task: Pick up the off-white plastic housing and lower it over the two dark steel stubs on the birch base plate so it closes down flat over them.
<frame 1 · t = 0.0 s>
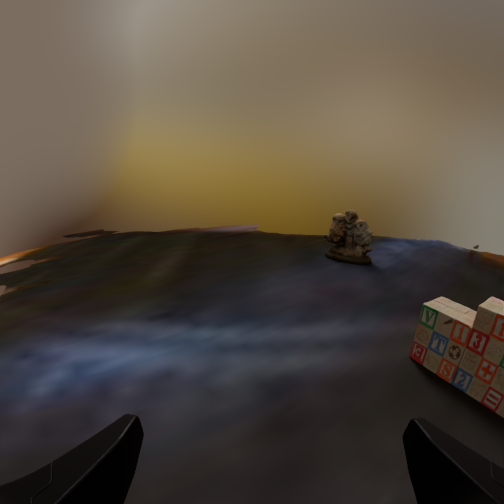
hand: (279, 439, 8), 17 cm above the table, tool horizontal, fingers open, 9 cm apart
stack of blocks: (466, 382, 30), on the table
owl figurine: (346, 259, 97), on the table
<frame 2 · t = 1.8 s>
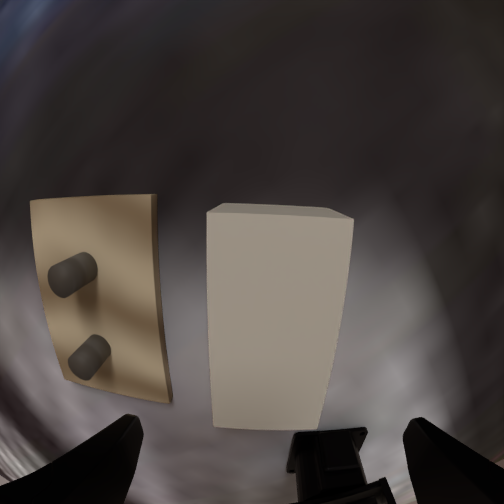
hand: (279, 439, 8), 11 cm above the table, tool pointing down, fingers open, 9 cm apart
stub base: (98, 303, 18), on the table
housing: (270, 303, 18), on the table
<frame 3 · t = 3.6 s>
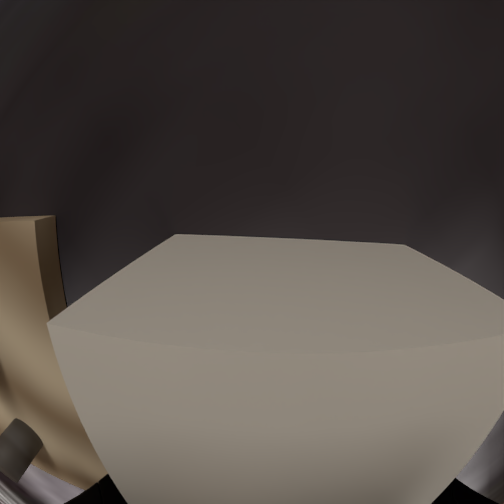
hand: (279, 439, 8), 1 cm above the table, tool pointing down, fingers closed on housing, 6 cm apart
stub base: (15, 378, 9), on the table
housing: (278, 417, 9), on the table, touching gripper
when the fingers open (3 cm above the table, at t = 8.9 s): housing stays where it is, resting on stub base.
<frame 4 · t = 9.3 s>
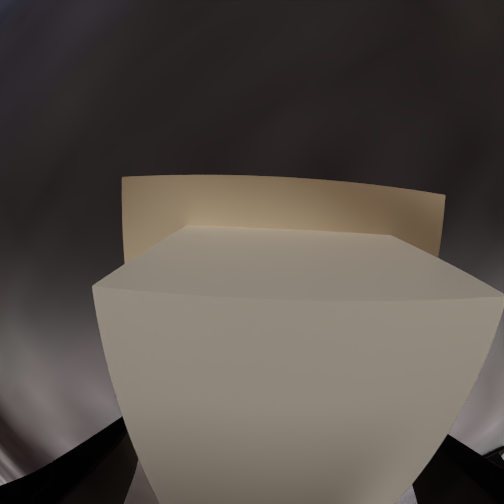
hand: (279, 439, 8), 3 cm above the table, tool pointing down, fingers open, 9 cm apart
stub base: (275, 382, 10), on the table
housing: (278, 397, 9), point 1 cm above the table, touching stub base
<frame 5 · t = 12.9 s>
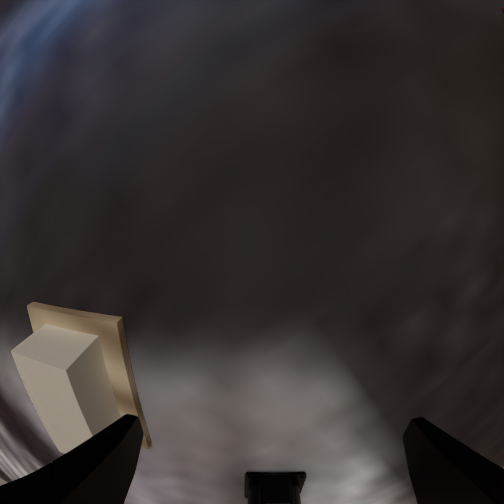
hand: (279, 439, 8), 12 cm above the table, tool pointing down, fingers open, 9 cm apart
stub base: (90, 380, 22), on the table
housing: (86, 386, 21), point 1 cm above the table, touching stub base
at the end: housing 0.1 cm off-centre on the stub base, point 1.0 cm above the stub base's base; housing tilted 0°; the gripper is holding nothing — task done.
